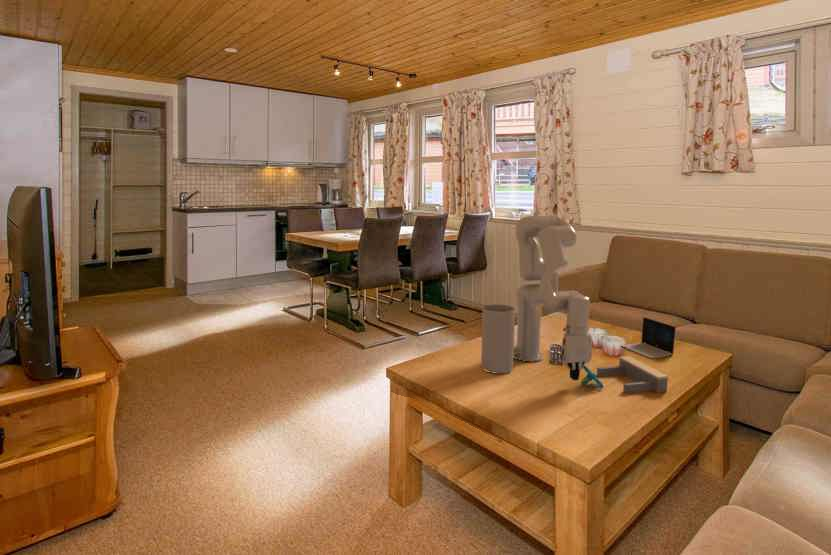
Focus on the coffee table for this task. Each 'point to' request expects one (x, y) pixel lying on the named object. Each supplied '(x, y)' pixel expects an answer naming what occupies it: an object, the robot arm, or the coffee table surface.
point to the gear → (590, 377)
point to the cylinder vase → (498, 338)
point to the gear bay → (637, 375)
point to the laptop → (655, 339)
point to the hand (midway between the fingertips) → (574, 378)
